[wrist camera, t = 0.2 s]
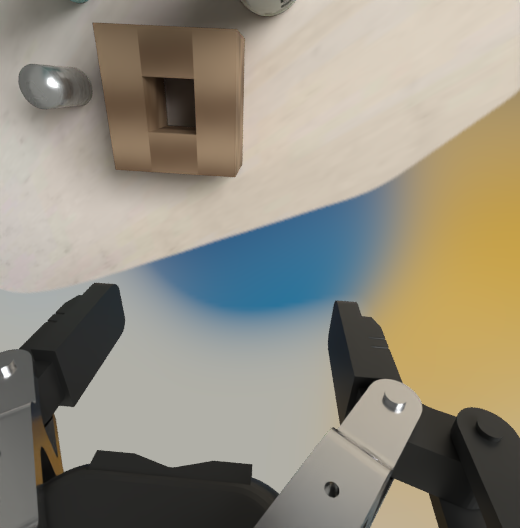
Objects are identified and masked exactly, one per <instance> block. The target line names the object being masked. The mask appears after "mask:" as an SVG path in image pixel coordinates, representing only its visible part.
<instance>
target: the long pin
mask: <svg viewBox="0 0 520 528" xmlns="http://www.w3.org/2000/svg"><path fill="white" fill-rule="evenodd" d="M70 1H73V2H76V3H84V2H86V1H88V0H70Z"/></svg>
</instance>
